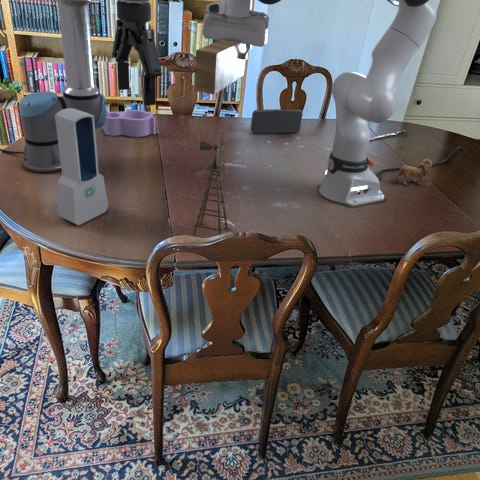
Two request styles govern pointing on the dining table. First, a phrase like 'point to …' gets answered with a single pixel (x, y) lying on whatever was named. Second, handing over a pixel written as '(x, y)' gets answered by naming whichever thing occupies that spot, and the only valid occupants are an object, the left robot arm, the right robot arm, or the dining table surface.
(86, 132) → the electronic device
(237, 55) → the box
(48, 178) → the dining table surface
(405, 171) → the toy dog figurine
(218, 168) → the miniature windmill
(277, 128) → the handheld gaming console
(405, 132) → the sword
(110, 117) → the purple double bowl
